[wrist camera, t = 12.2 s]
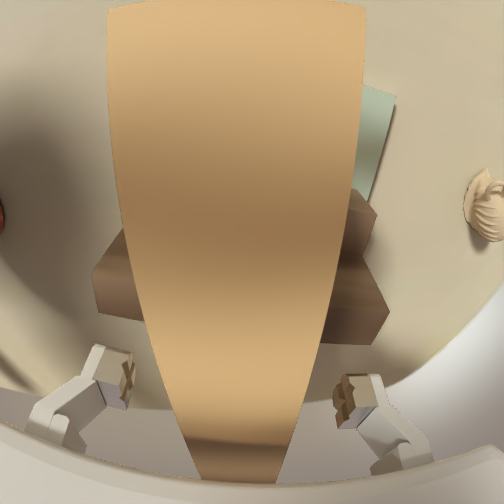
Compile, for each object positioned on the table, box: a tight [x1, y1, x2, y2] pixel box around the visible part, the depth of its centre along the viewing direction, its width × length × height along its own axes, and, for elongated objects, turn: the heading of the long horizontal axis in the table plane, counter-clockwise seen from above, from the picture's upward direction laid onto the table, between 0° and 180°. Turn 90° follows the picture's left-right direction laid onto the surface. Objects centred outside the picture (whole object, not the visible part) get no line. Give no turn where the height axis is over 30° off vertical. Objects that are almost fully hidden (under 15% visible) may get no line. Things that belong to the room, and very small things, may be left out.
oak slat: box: [107, 0, 366, 484], centre depth 11 cm, size 22×4×6 cm, turn 179°
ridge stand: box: [91, 85, 396, 345], centre depth 18 cm, size 22×16×10 cm
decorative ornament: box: [463, 168, 504, 242], centre depth 19 cm, size 3×7×4 cm, turn 25°
